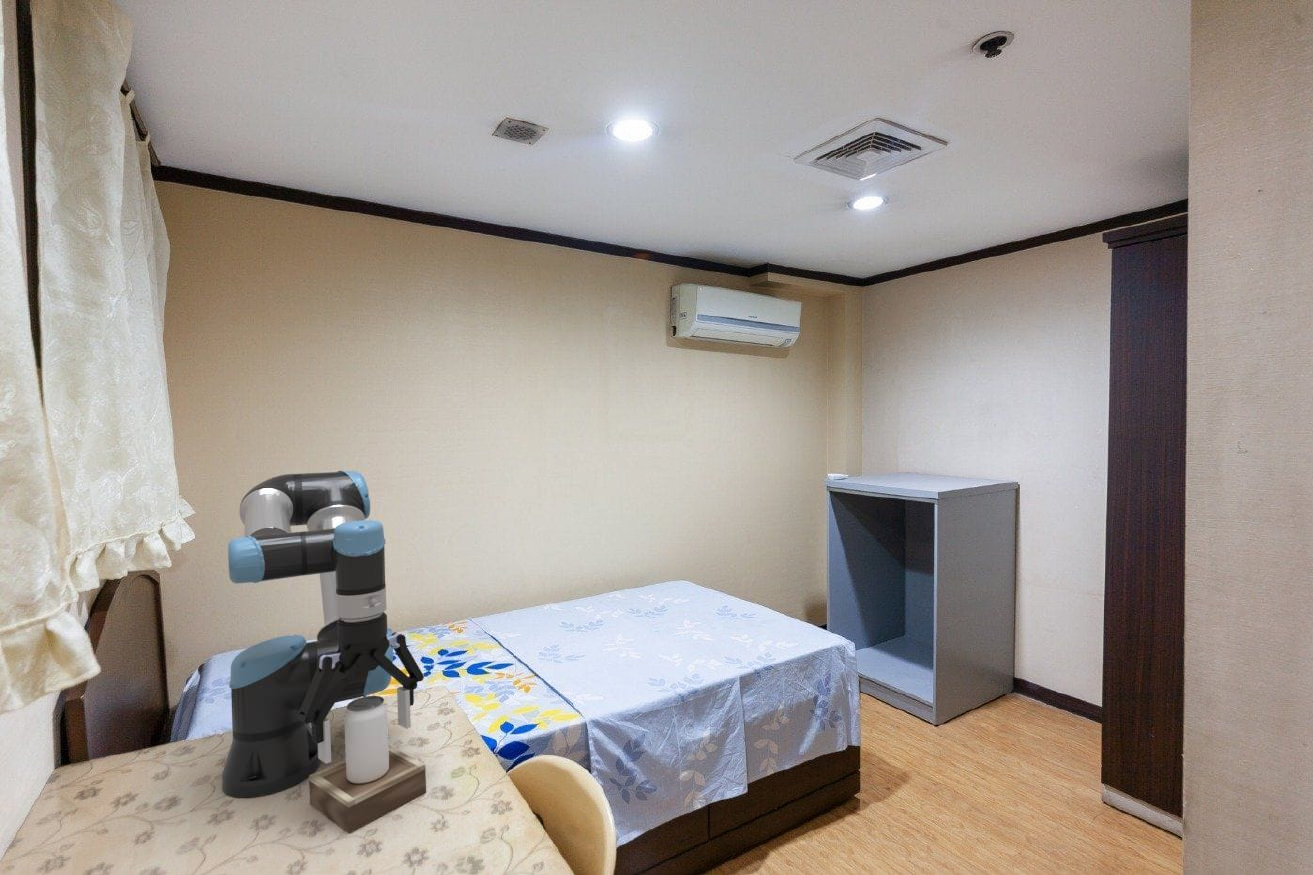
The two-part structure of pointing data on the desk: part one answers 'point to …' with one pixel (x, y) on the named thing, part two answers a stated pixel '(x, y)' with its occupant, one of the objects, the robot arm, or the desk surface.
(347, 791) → the wooden tray
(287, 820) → the desk surface
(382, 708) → the can
